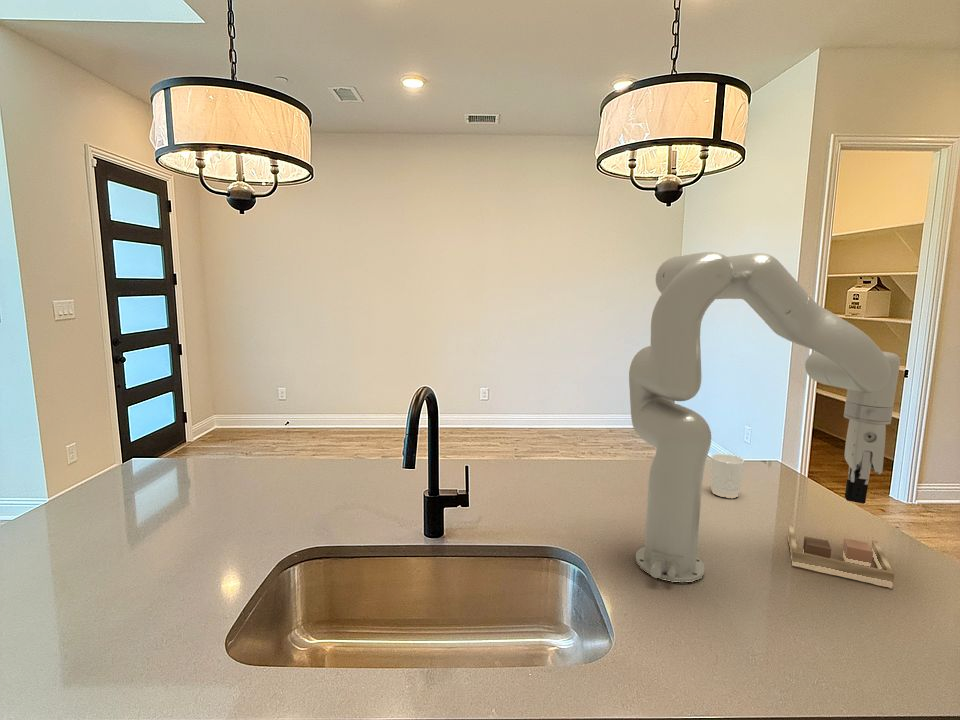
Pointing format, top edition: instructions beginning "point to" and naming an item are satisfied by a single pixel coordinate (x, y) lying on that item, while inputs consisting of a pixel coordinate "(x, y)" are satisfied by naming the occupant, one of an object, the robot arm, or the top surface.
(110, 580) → the top surface
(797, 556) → the tan u-shaped piece
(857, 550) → the terracotta block
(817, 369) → the robot arm
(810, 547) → the walnut block
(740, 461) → the white cup
